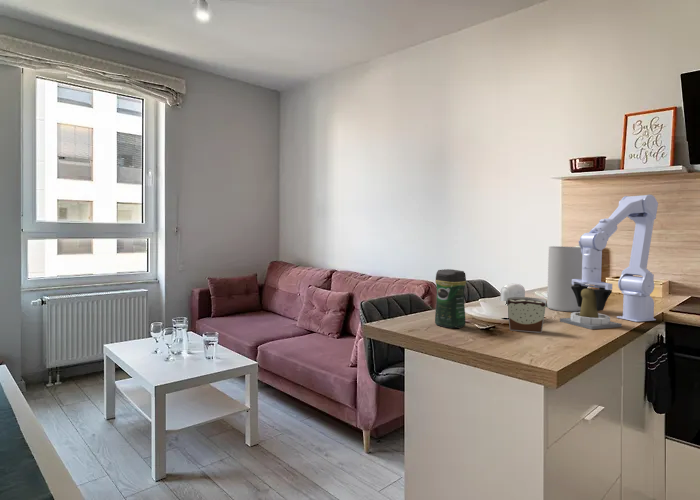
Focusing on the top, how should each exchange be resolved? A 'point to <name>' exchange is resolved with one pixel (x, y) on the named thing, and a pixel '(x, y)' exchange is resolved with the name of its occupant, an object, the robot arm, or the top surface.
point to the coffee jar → (450, 298)
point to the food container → (526, 314)
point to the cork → (588, 304)
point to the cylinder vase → (563, 277)
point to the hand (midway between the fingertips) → (590, 308)
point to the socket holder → (590, 321)
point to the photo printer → (512, 291)
